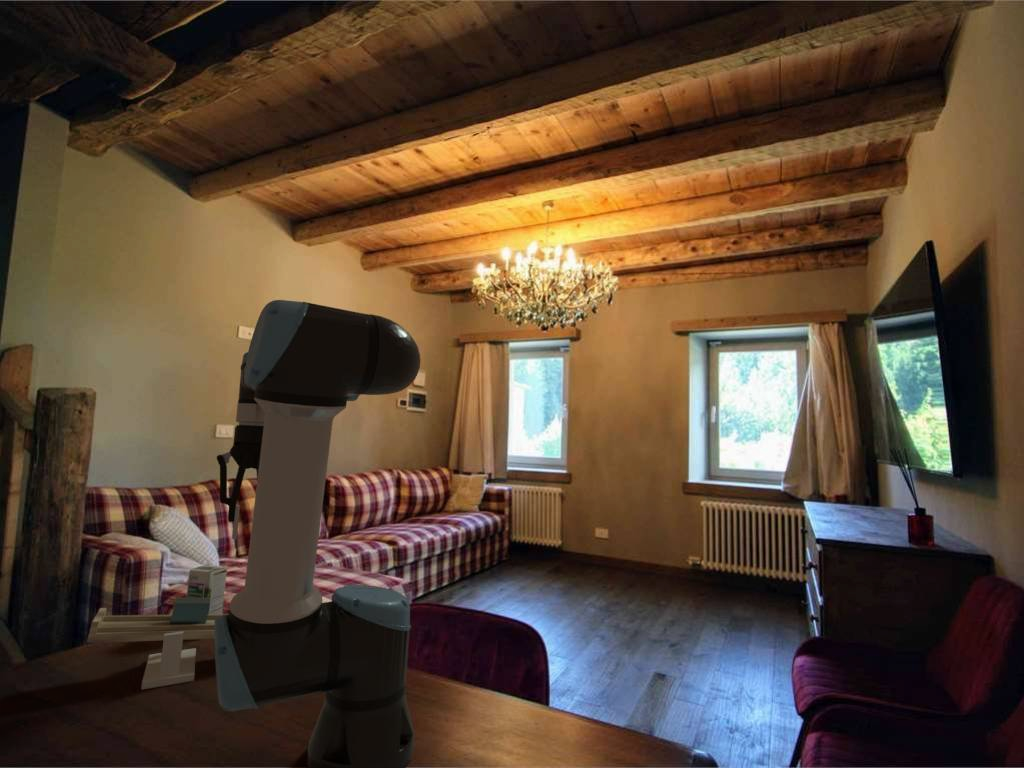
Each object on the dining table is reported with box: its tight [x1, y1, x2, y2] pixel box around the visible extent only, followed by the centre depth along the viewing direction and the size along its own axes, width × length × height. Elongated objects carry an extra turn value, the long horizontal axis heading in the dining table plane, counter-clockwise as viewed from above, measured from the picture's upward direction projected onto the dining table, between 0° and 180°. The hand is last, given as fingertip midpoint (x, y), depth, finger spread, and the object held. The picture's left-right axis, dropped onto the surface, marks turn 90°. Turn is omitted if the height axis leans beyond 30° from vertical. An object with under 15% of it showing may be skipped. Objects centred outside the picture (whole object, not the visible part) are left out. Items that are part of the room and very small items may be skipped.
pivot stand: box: [141, 631, 197, 691], centre depth 99 cm, size 13×8×9 cm, turn 31°
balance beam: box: [86, 607, 229, 646], centre depth 99 cm, size 9×26×6 cm, turn 121°
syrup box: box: [186, 564, 228, 614], centre depth 118 cm, size 6×6×14 cm
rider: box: [170, 596, 210, 625], centre depth 101 cm, size 4×6×4 cm, turn 121°
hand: (244, 537), depth 107 cm, fingers open, 3 cm apart
